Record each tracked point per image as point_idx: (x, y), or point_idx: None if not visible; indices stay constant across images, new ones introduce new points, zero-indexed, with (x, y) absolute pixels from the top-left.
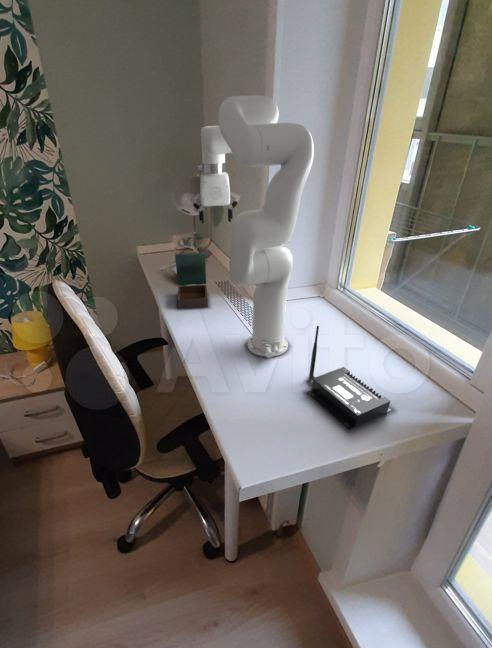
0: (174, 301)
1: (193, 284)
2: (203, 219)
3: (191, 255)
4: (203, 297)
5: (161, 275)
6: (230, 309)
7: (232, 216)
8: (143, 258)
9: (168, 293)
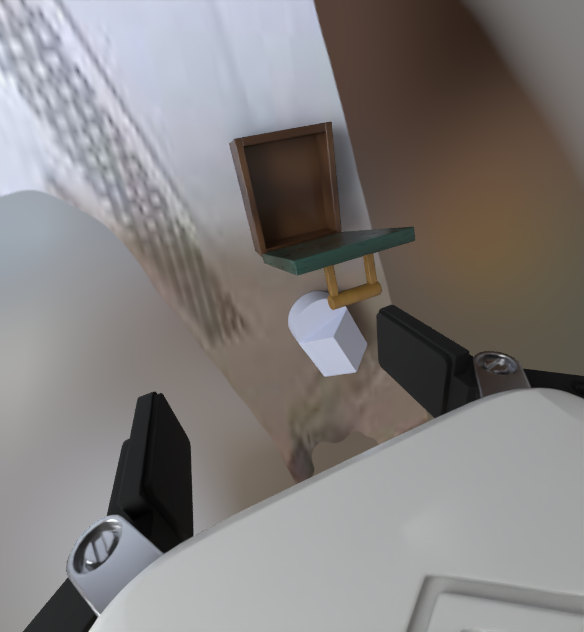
0: None
1: (302, 297)
2: (396, 323)
3: (348, 244)
4: (257, 207)
5: None
6: (145, 129)
7: (120, 455)
8: None
9: None
